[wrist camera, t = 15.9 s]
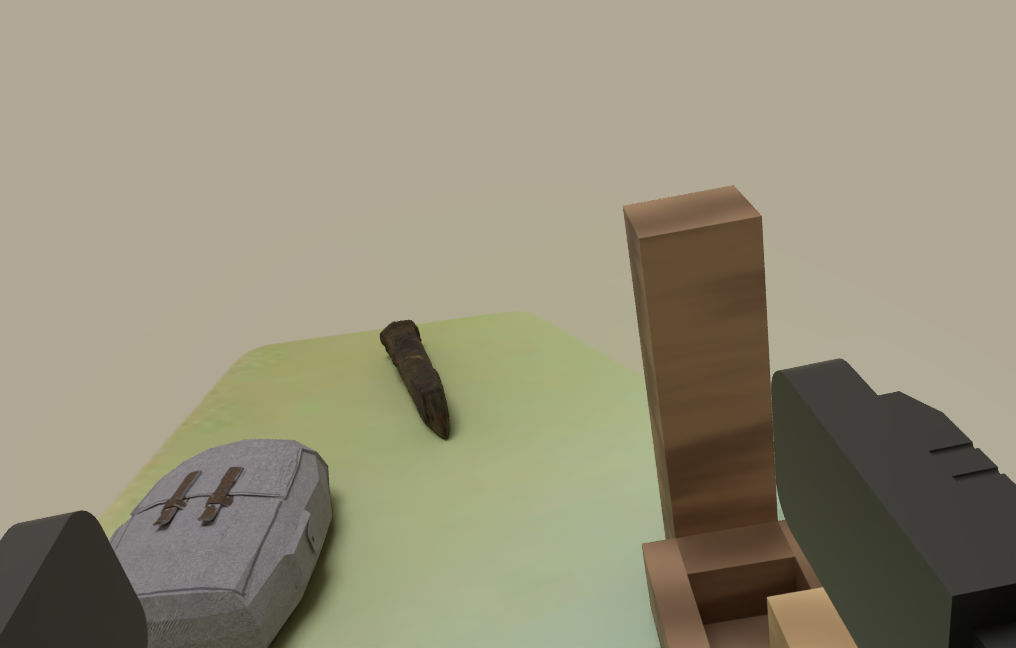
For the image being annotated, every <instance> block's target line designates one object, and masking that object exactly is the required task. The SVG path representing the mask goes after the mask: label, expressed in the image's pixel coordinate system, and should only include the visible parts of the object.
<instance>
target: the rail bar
mask: <svg viewBox="0 0 1016 648" xmlns="http://www.w3.org/2000/svg"><path fill="white" fill-rule="evenodd" d="M767 606H768V622H769V638H770V648H858V647H857V645H856V644H855V642H854V640H853V638H852V637H851V635H850V633H849V631H848V630H847V628H846V626H845V625H844V623H843V621H842V619H841V618H840V616H839V614H838V612H837V611H836V609H835V607H834V606H833V604H832V602H831V600H830V599H829V597H828V595H827V593H826V592H825V590H824V588H823V587H821V588H816V589H810V590H804V591H799V592H793V593H787V594H782V595H776V596H770V597H767Z"/></svg>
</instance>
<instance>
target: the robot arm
mask: <svg viewBox="0 0 1016 648" xmlns="http://www.w3.org/2000/svg"><path fill="white" fill-rule="evenodd" d="M771 395H772V415H773V435H774V455H775V475H776V485H777V491H778V496H779V500H780V504H781V507H782V511H783V514H784V517H785V519H786V522H787V524H788V527H789V529H790V531H791V533H792V535H793V536H794V538H795V540H796V541H797V543H798V545H799V547H800V548H801V550H802V552H803V554H804V555H805V557H806V559H807V561H808V562H809V564H810V566H811V567H812V569H813V571H814V573H815V574H816V576H817V578H818V580H819V581H820V583H821V585H822V586H823V588H824V590H825V592H826V593H827V595H828V597H829V599H830V600H831V602H832V604H833V606H834V607H835V609H836V611H837V612H838V614H839V616H840V618H841V619H842V621H843V623H844V625H845V626H846V628H847V630H848V631H849V633H850V635H851V637H852V638H853V640H854V642H855V644H856V645H857V647H858V648H1016V484H1015V483H1013V482H1012V481H1011V480H1010V479H1009V478H1008V477H1007V476H1006V475H1005V474H1000V473H999V471H998V467H997V466H996V465H995V464H994V463H993V462H992V461H991V460H990V459H989V458H988V457H987V456H986V455H985V454H984V453H983V452H982V451H981V450H980V449H979V448H976V449H975V448H974V447H973V442H972V441H971V440H970V439H969V438H968V437H967V436H966V435H965V434H964V433H963V432H962V431H961V430H960V429H959V428H958V427H957V426H956V425H955V424H954V423H953V422H952V421H951V420H950V419H949V418H948V417H947V416H946V415H945V414H944V413H942V412H941V411H938V410H936V409H934V408H932V407H930V406H928V405H926V404H924V403H922V402H920V401H918V400H916V399H914V398H912V397H910V396H908V395H906V394H904V393H902V392H900V391H898V392H893V393H888V394H883V395H877V394H876V393H875V392H874V391H873V390H872V389H871V388H870V386H869V385H868V384H867V383H866V382H865V381H864V380H863V379H862V378H861V377H860V376H859V374H858V373H857V372H856V371H855V370H854V369H853V368H852V367H851V366H850V365H849V364H848V363H847V362H846V361H844V360H843V359H834V360H829V361H824V362H819V363H814V364H809V365H804V366H800V367H794V368H790V369H784V370H780V371H776V372H775V373H774V374H773V377H772V383H771ZM147 645H148V628H147V621H146V616H145V613H144V609H143V607H142V604H141V602H140V600H139V598H138V596H137V594H136V592H135V591H134V589H133V587H132V585H131V583H130V581H129V579H128V577H127V575H126V573H125V571H124V569H123V567H122V565H121V563H120V562H119V560H118V558H117V556H116V554H115V552H114V550H113V548H112V546H111V544H110V542H109V540H108V538H107V536H106V534H105V532H104V531H103V529H102V527H101V525H100V523H99V522H98V520H97V519H96V518H95V517H94V516H93V515H92V514H91V513H89V512H87V511H76V512H72V513H67V514H61V515H56V516H51V517H46V518H42V519H37V520H32V521H27V522H22V523H17V524H15V525H13V526H12V527H11V528H9V529H8V531H7V532H6V533H5V534H4V536H3V537H2V539H1V540H0V648H147Z"/></svg>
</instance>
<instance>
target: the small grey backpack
mask: <svg viewBox="0 0 1016 648" xmlns="http://www.w3.org/2000/svg"><path fill="white" fill-rule="evenodd" d="M130 514H131V516H132V517H131V518H130V519H129V520H128V521H127V522H126V523H125V524H124V525H121V526H120V527H119V528H118V529H117V530H115V532H114V534H113V535H112V537H111V538H110V540H109V542H110V544H111V546H112V548H113V550H114V552H115V554H116V556H117V558H118V560H119V562H120V563H121V565H122V567H123V569H124V571H125V573H126V575H127V577H128V579H129V581H130V583H131V585H132V587H133V589H134V591H135V592H136V594H137V596H138V598H139V600H140V602H141V604H142V607H143V609H144V613H145V616H146V621H147V628H148V645H147V648H268V646H269V645H270V644H271V642H272V641H273V639H274V638H275V636H276V635H277V633H278V632H279V631H280V629H281V628H282V626H283V625H284V623H285V622H286V621H287V619H288V618H289V616H290V615H291V613H292V612H293V610H294V609H295V608H296V606H297V605H298V603H299V602H300V600H301V599H302V597H303V594H304V592H305V589H306V587H307V584H308V582H309V580H310V577H311V575H312V572H313V570H314V567H315V565H316V563H317V560H318V558H319V555H320V552H321V549H322V546H323V543H324V540H325V537H326V534H327V531H328V528H329V525H330V522H331V519H332V510H331V501H330V491H329V473H328V465H327V464H326V463H325V461H324V460H323V459H322V458H321V456H320V455H319V454H318V453H317V452H316V451H314V450H312V449H310V448H308V447H306V446H305V445H303V444H301V443H299V442H297V441H295V440H276V439H247V440H241V441H238V442H234V443H230V444H226V445H222V446H218V447H214V448H210V449H207V450H206V451H204V452H202V453H200V454H198V455H196V456H194V457H192V458H190V459H188V460H186V461H184V462H183V463H181V464H180V465H179V466H177V467H176V468H175V469H173V470H172V471H171V472H169V473H168V474H167V475H165V476H164V477H163V478H161V479H160V480H159V481H158V482H157V483H156V484H155V486H154V487H153V488H152V489H151V490H150V491H149V493H148V494H147V495H146V496H145V497H144V498H143V499H142V501H141V502H140V503H139V504H138V505H137V506H136V508H135V509H134V510H133V511H132V512H131V513H130Z"/></svg>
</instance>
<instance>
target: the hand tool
mask: <svg viewBox="0 0 1016 648" xmlns="http://www.w3.org/2000/svg"><path fill="white" fill-rule="evenodd" d="M380 340H381V343H382V345H384V346H385V348H386V352H387V353H388V354H389V356H390V357H392V360H393V362H394V365H395V366H396V367H397V368H398V370H399V372H400V375H401V377H402V379H403V380H404V382H405V384H406V386H407V388H408V390H409V393H410V395H411V396H412V399H413V401H414V403H415V405H416V407H417V410H418V412H419V415H420V417H421V418H422V420H423V421H424V422H425V424H426V425H427V426H428V427H429V428H431V429H432V430H433V431H434V432H435V433H437V434H438V435H440V436H441V437H442V438H446V437H447V436H448V433H449V413H448V408H447V402H446V398H445V393H444V389H443V385H442V384H441V380H440V377H439V374H438V373H437V371H436V370H435V369H433V367H432V364H431V362H430V359H429V357H428V355H427V353H426V351H425V349H424V347H423V345H422V343H421V341H422V340H421V338H420V333H419V330H418V327H417V326H416V325H415V323H414V322H413V321H412V320H404V321H398V322H395V321H394V322H392V323H391V324H389V325H388V326H387V327H386V328H385V329H384V330H383V331H382V332H381V333H380ZM444 427H445V428H444Z"/></svg>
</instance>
